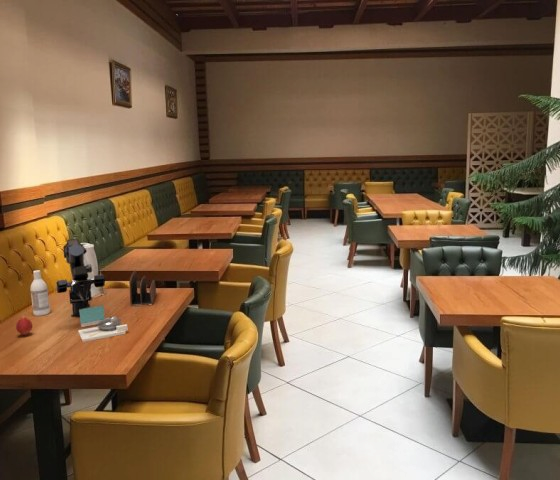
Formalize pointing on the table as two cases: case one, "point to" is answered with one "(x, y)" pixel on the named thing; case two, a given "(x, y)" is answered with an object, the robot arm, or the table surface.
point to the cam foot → (98, 318)
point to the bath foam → (39, 295)
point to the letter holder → (141, 291)
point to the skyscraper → (91, 259)
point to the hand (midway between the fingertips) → (84, 300)
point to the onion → (24, 326)
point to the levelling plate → (101, 333)
